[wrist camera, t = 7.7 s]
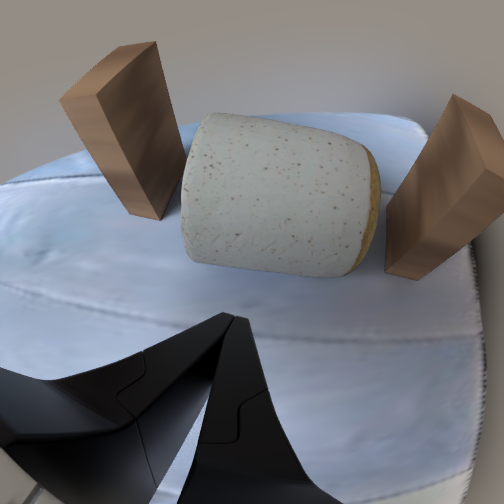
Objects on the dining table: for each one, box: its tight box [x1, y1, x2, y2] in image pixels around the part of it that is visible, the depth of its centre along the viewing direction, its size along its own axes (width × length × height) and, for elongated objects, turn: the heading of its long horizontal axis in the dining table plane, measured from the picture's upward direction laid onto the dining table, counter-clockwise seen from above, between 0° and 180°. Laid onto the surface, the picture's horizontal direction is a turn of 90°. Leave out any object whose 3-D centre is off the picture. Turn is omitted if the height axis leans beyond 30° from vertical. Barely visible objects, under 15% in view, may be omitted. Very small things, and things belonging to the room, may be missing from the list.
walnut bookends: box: [59, 41, 504, 281], centre depth 13 cm, size 5×20×10 cm, turn 75°
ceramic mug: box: [181, 113, 381, 278], centre depth 14 cm, size 11×8×8 cm
